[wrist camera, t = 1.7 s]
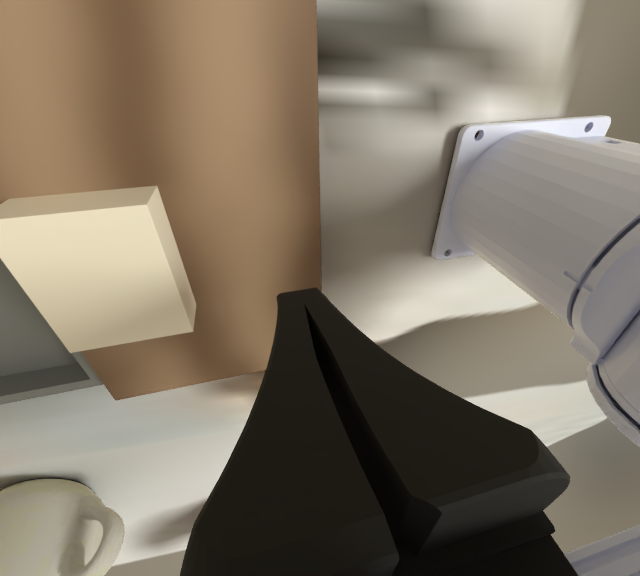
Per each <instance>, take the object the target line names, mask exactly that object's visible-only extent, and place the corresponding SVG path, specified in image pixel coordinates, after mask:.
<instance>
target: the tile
mask: <svg viewBox="0 0 640 576" xmlns="http://www.w3.org/2000/svg"><path fill="white" fill-rule="evenodd" d="M0 259H1V260H2V261H3V263H4V264H5V265H6V267H7V268H8V269H9V271H10V272H11V273H12V275H13V276H14V278H15V279H16V280H17V282H18V283H19V284H20V286H21V287H22V288H23V290H24V291H25V292H26V294H27V295H28V297H29V298H30V299H31V301H32V302H33V303H34V305H35V306H36V307H37V309H38V310H39V312H40V313H41V314H42V316H43V317H44V318H45V320H46V321H47V322H48V324H49V325H50V326H51V328H52V329H53V331H54V332H55V333H56V335H57V336H58V337H59V339H60V340H61V341H62V343H63V344H64V345H65V347H66V348H67V350H68V351H69V352H70V353H73V352H79V351H85V350H91V349H96V348H102V347H108V346H114V345H119V344H125V343H131V342H137V341H142V340H148V339H154V338H160V337H165V336H171V335H177V334H183V333H188V332H193V329H194V320H195V312H196V302H195V299H194V296H193V293H192V290H191V287H190V284H189V281H188V278H187V275H186V272H185V269H184V266H183V263H182V260H181V257H180V254H179V250H178V247H177V244H176V241H175V238H174V235H173V232H172V229H171V226H170V223H169V220H168V217H167V214H166V211H165V208H164V205H163V202H162V199H161V196H160V193H159V190H158V187H157V186H147V187H136V188H125V189H114V190H103V191H92V192H80V193H69V194H58V195H47V196H36V197H25V198H14V199H8V200H6V201H5V202H3V203H2V204H0Z"/></svg>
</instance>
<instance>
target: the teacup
mask: <svg viewBox="0 0 640 576" xmlns="http://www.w3.org/2000/svg"><path fill="white" fill-rule="evenodd" d="M123 537H124V524H123V521H122V519H121V517H120V516H119V515H118V514H117V513H116V512H115V511H113V510H112V509H110V508H108V507H105V505H104V504H103V503H102V502H101V499H100V498H98V497H97V496H96V494H95V493H94V492H93V491H92V490H91V489H90V488H88V487H87V486H85V485H83V484H80V483H78V482H74V481H70V480H63V479H35V480H30V481H24V482H21V483H17V484H14V485H12V486H9V487H7V488H5V489H3V490H1V491H0V576H104V575H105V574H106V573H107V571H108V570H109V569H110V568H111V566H112V564H113V563H114V561H115V559H116V558H117V556H118V554H119V551H120V548H121V545H122V543H123Z"/></svg>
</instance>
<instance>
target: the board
mask: <svg viewBox="0 0 640 576" xmlns="http://www.w3.org/2000/svg"><path fill="white" fill-rule="evenodd" d="M147 186H157V187H158V190H159V193H160V196H161V199H162V202H163V205H164V208H165V211H166V214H167V217H168V220H169V223H170V226H171V229H172V232H173V235H174V238H175V241H176V244H177V247H178V250H179V254H180V257H181V260H182V263H183V266H184V269H185V272H186V275H187V278H188V281H189V284H190V287H191V290H192V293H193V296H194V299H195V302H196V312H195V320H194V329H193V332H188V333H183V334H177V335H171V336H165V337H160V338H154V339H148V340H142V341H137V342H131V343H125V344H119V345H114V346H108V347H102V348H96V349H91V350H85V351H81V352H82V354H83V355H84V356H85V358H86V359H87V361H88V362H89V364H90V365H91V366H92V368H93V369H94V371H95V372H96V374H97V375H98V376H99V378H100V379H101V381H102V382H103V383H104V385H105V386H106V388H107V389H108V391H109V392H110V393H111V395H112V396H113V398H114V399H115V400H120V399H125V398H130V397H135V396H140V395H145V394H150V393H155V392H159V391H164V390H169V389H174V388H179V387H184V386H189V385H194V384H199V383H204V382H209V381H213V380H218V379H223V378H228V377H233V376H238V375H243V374H248V373H253V372H258V371H263V370H266V368H267V365H268V361H269V357H270V353H271V349H272V345H273V340H274V335H275V329H276V323H277V311H278V305H277V298H276V297H277V296H278V294H279V293H285V292H291V291H297V290H303V289H309V288H315V287H317V288H318V289H319V290H320V291H321V236H320V178H319V121H318V63H317V6H316V0H0V204H2V203H3V202H5V201H6V200H8V199H14V198H25V197H36V196H47V195H58V194H69V193H80V192H92V191H103V190H114V189H125V188H136V187H147Z"/></svg>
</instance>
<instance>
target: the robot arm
mask: <svg viewBox="0 0 640 576" xmlns="http://www.w3.org/2000/svg"><path fill="white" fill-rule="evenodd" d="M610 123H611V118H610V117H609V116H604V115H599V116H583V117H569V118H554V119H539V120H524V121H510V122H495V123H480V124H468V125H465V126H464V127H463V128H462V129H461V130H460V132H459V134H458V138H457V142H456V147H455V151H454V155H453V160H452V164H451V169H450V173H449V177H448V182H447V186H446V191H445V195H444V199H443V204H442V208H441V213H440V217H439V221H438V226H437V230H436V234H435V239H434V243H433V248H432V252H431V255H432V257H433V258H434V259H436V260H444V259H450V258H457V257H463V256H469V255H476V254H477V255H478V256H480V257H481V258H482V259H483V260H485V261H486V262H487V263H489V264H490V265H491V266H492V267H494V268H495V269H496V270H498V271H499V272H500V273H501V274H503V275H504V276H505V277H507V278H508V279H509V280H510V281H512V282H513V283H514V284H516V285H517V286H518V287H519V288H521V289H522V290H523V291H525V292H526V293H527V294H529V295H530V296H531V297H532V298H534V299H535V300H536V301H538V302H539V303H540V304H541V305H543V306H544V307H545V308H547V309H548V310H549V311H550V312H552V313H553V314H554V315H556V316H557V317H558V318H559V319H561V320H562V321H563V322H565V323H566V324H567V325H568V326H570V327H571V328H572V329H574V330H575V334H574V336H573V339H572V340H571V342H570V346H571V347H572V348H574V349H575V350H576V351H578V353H580V354H581V355H582V356H584V358H586V359H587V360H588V361H589V362H590V363H589V365H588V369H587V383H588V386H589V389H590V392H591V394H592V396H593V397H594V399H595V401H596V403H597V404H598V406H599V407H600V408H601V410H602V411H603V412H604V414H605V415H606V416H607V417H608V418H609V419H610V421H611V422H612V423H613V424H614V425H615V426H616V427H617V428H618V429H619V430H620V431H621V432H622V433H623V434H624V435H626V436H627V437H628V438H629V439H630V440H631V441H632V442H634V443H635V444H636V445H637V446H639V447H640V144H638V143H633V142H628V141H623V140H618V139H614V138H609V137H604V136H605V134H606V132H607V130H608V127H609V126H610ZM477 131H479V134H478V136H477V138H476V139H474V137H475V134H476V132H477ZM447 250H448V251H447ZM445 251H447V252H446V253H445ZM276 298H277V305H278V311H277V323H276V329H275V335H274V340H273V345H272V349H271V353H270V357H269V361H268V365H267V368H266V371H265V375H264V378H263V381H262V384H261V387H260V389H259V392H258V395H257V398H256V400H255V403H254V405H253V408H252V410H251V413H250V415H249V418H248V420H247V422H246V425H245V427H244V429H243V431H242V433H241V435H240V438H239V440H238V442H237V444H236V446H235V448H234V450H233V452H232V454H231V456H230V458H229V460H228V462H227V464H226V466H225V468H224V470H223V472H222V474H221V476H220V478H219V480H218V481H217V483H216V485H215V487H214V489H213V490H212V492H211V494H210V496H209V498H208V499H207V501H206V503H205V505H204V507H203V508H202V510H201V512H200V514H199V515H198V517H197V519H196V521H195V523H194V525H193V528H192V532H191V535H190V538H189V542H188V545H187V549H186V552H185V556H184V560H183V564H182V568H181V572H180V576H640V525H637V526H634V527H632V528H629V529H627V530H624V531H621V532H619V533H616V534H614V535H611V536H608V537H606V538H603V539H601V540H598V541H595V542H593V543H590V544H588V545H585V546H583V547H580V548H577V549H575V550H573V551H570V552H567V553H564V554H563V552H562V551H561V549H560V548H559V547H558V545H557V543H556V542H555V541H554V539H553V538H552V536H551V535H550V534H552V533H554V532H555V529H554V526H553V524H552V523H551V522H550V520H549V519H548V517H547V516H546V515H545V513H544V512H543V510H544V509H545V508H546V507H547V506H549V505H550V504H551V503H552V502H553V501H554V500H555V499H556V498H557V497H559V496H560V495H561V494H562V493H563V492H564V491H565V490H566V488H567V487H568V485H569V482H570V476H569V474H568V473H567V472H566V471H565V469H564V468H563V467H562V466H561V464H560V463H559V462H558V461H557V459H556V458H555V457H554V456H553V455H552V453H551V452H550V451H549V449H548V448H547V447H546V446H545V445H544V444H543V443H542V442H541V440H540V439H539V438H538V437H537V436H536V435H535V434H534V433H533V432H532V431H531V430H530V429H528V428H526V427H523V426H521V425H519V424H516V423H514V422H512V421H510V420H507V419H505V418H503V417H501V416H498V415H496V414H494V413H492V412H489V411H487V410H485V409H483V408H480V407H478V406H476V405H474V404H472V403H470V402H468V401H466V400H464V399H462V398H461V397H459V396H457V395H455V394H453V393H451V392H449V391H447V390H445V389H444V388H442V387H440V386H438V385H437V384H435V383H433V382H431V381H430V380H428V379H426V378H425V377H423V376H421V375H420V374H418V373H416V372H415V371H413V370H411V369H410V368H409V367H407V366H405V365H404V364H402V363H401V362H400V361H398V360H397V359H395V358H394V357H393V356H391V355H390V354H388V353H387V352H386V351H384V350H383V349H382V348H380V347H379V346H378V345H377V344H375V343H374V342H373V341H372V340H371V339H369V338H368V337H367V336H366V335H365V334H363V333H362V332H361V331H360V330H359V329H358V328H357V327H356V326H354V325H353V324H352V323H351V322H350V321H349V320H348V319H347V318H346V317H345V316H344V315H343V314H342V313H341V312H340V311H339V310H338V309H337V308H336V307H335V306H334V305H333V304H332V303H331V302H330V301H329V300H328V299H327V298H326V297H325V295H324V294H323V293H322V292H321V291H320V290H319V289H318V288H317V287H315V288H309V289H303V290H297V291H291V292H285V293H279V294H278V296H277V297H276Z"/></svg>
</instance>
